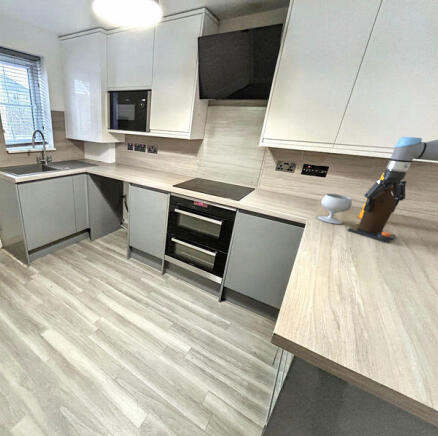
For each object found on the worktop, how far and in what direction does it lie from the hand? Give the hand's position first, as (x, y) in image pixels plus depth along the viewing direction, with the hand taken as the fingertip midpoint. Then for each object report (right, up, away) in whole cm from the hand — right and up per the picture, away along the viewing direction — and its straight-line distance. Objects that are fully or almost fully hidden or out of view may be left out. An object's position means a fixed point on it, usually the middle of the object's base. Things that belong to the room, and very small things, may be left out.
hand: (378, 211), depth 122 cm
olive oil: (-1, -10, +4) cm, 11 cm away
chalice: (-11, -5, +19) cm, 22 cm away
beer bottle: (+19, -5, +25) cm, 32 cm away
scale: (-1, -12, +3) cm, 12 cm away
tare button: (-2, -12, -5) cm, 14 cm away
